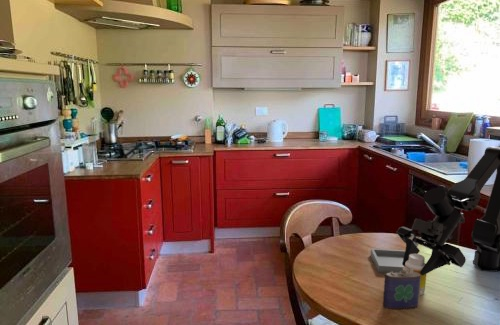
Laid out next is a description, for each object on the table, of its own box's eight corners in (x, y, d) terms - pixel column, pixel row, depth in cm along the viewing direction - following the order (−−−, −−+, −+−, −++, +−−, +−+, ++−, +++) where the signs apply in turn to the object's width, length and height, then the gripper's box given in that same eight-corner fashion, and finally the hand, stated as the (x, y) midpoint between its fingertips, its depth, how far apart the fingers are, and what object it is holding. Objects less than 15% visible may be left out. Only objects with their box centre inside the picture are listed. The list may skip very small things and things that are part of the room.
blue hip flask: (414, 303, 101) (418, 265, 99) (420, 309, 98) (424, 270, 96) (380, 304, 100) (383, 266, 98) (385, 311, 97) (389, 271, 95)
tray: (410, 257, 128) (411, 250, 128) (423, 276, 116) (423, 268, 115) (370, 255, 130) (370, 248, 129) (378, 273, 117) (379, 265, 117)
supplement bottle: (428, 291, 106) (431, 257, 105) (418, 298, 103) (421, 262, 101) (409, 284, 111) (412, 250, 109) (398, 290, 107) (402, 255, 105)
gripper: (403, 199, 113) (372, 241, 110) (463, 218, 96) (429, 268, 93) (419, 221, 118) (390, 262, 115) (479, 243, 101) (447, 291, 98)
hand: (412, 269), depth 105 cm, fingers closed on supplement bottle, 5 cm apart
